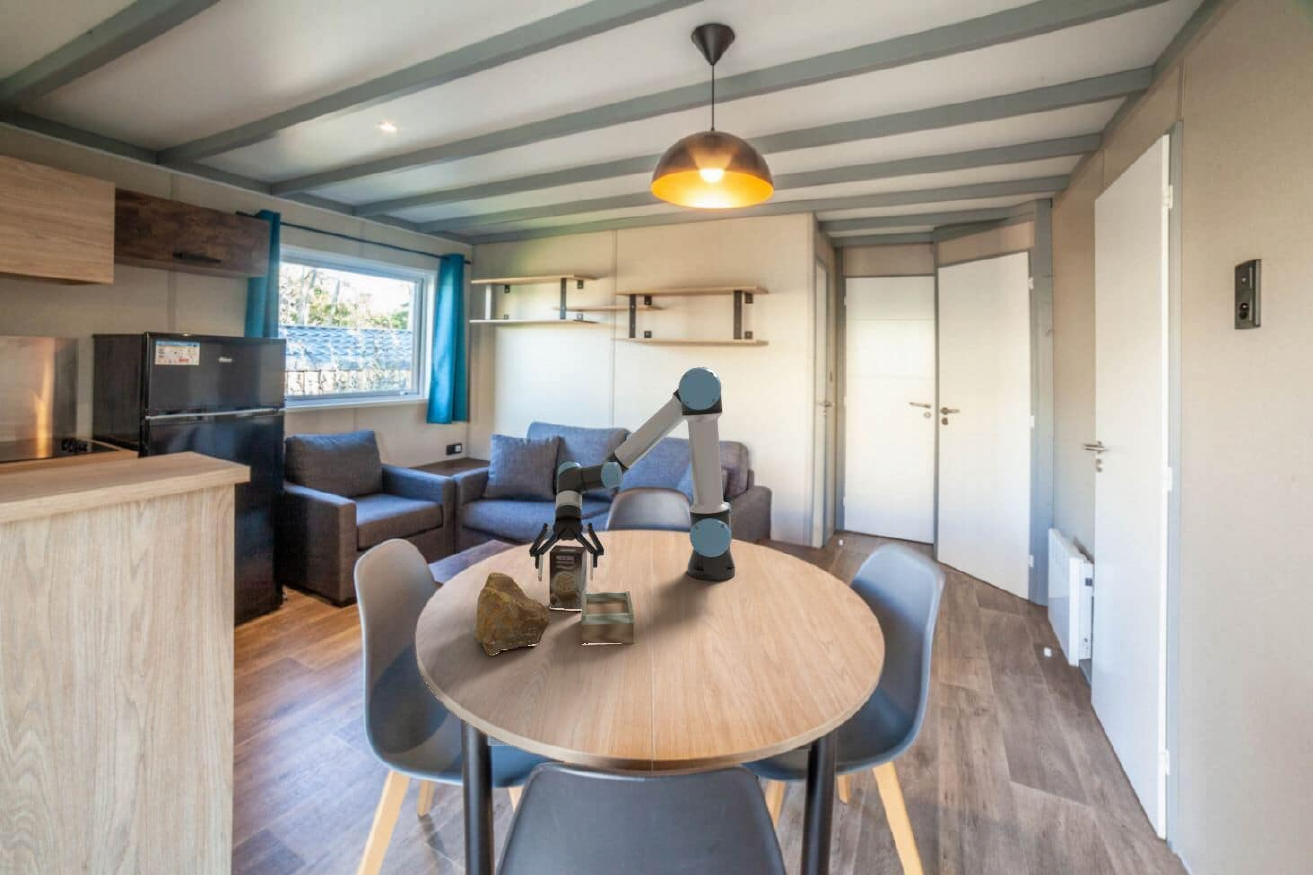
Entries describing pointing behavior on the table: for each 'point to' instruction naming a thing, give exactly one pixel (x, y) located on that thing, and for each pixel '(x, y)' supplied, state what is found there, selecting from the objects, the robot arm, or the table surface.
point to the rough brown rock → (508, 616)
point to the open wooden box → (607, 617)
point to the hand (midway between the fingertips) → (565, 578)
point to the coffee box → (567, 576)
